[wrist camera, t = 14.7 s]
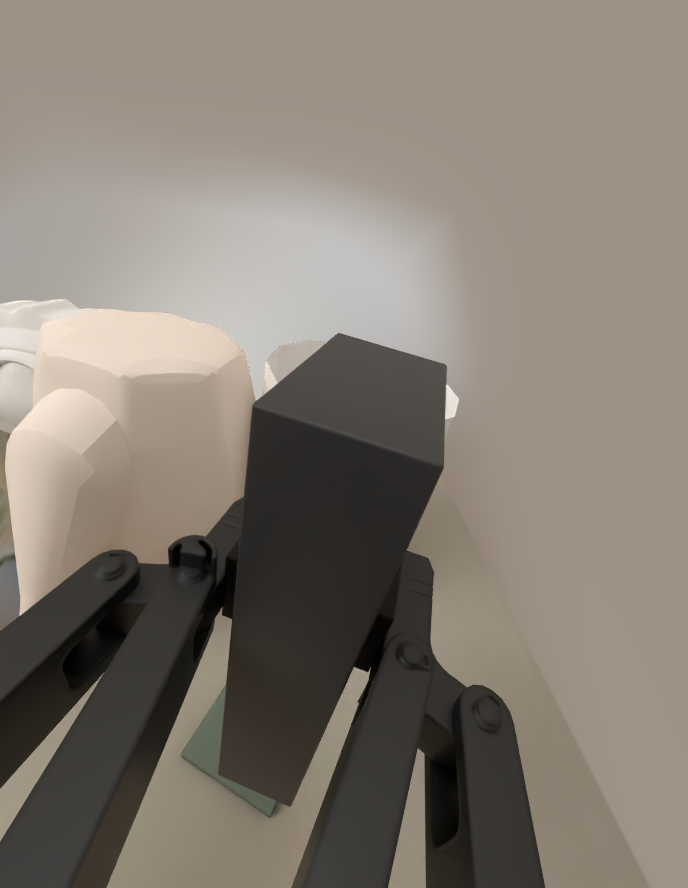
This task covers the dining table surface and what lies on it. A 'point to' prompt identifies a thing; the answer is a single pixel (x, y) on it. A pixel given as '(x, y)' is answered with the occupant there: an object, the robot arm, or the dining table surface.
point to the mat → (207, 752)
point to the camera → (23, 353)
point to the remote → (322, 544)
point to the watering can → (125, 441)
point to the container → (297, 353)
